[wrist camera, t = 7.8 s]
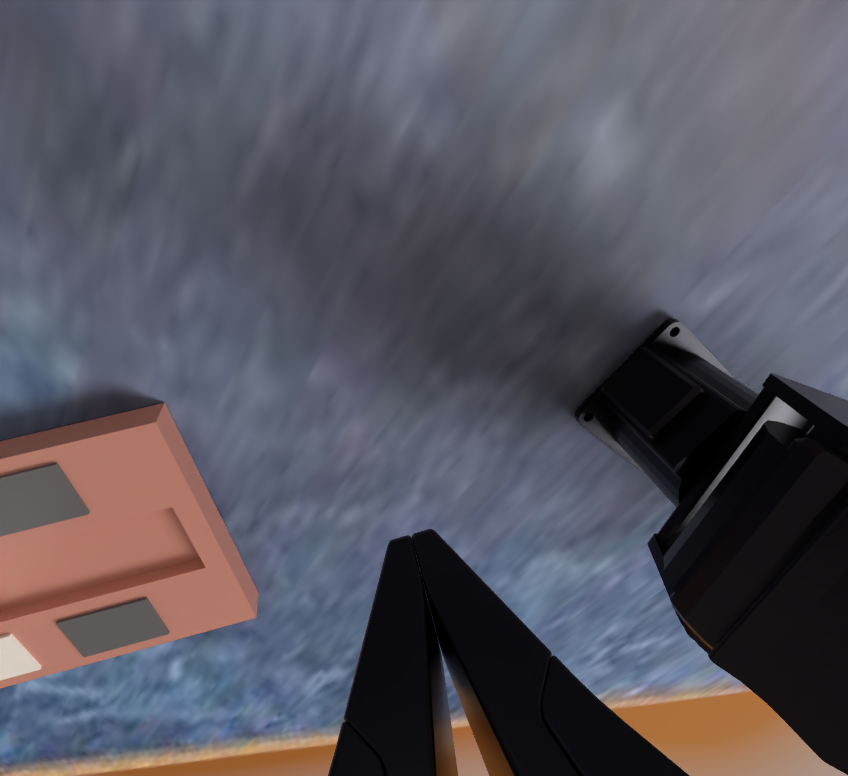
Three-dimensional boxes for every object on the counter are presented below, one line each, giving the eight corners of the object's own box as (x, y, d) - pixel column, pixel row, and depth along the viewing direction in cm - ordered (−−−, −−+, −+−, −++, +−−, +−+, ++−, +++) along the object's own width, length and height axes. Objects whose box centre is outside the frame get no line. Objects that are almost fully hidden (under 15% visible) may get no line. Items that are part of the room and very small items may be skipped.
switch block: (164, 402, 21) (154, 424, 20) (258, 592, 27) (256, 620, 26) (-321, 516, 20) (-370, 549, 18) (-106, 692, 26) (-130, 727, 24)
